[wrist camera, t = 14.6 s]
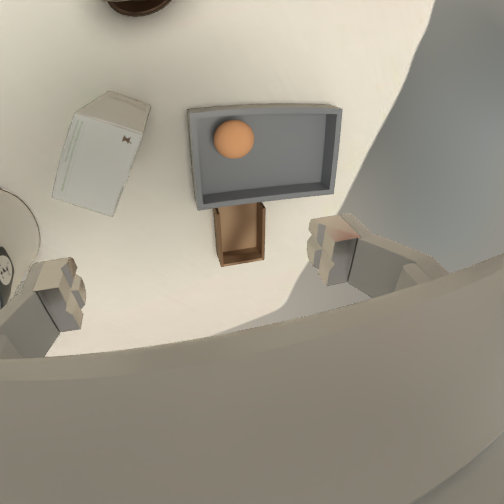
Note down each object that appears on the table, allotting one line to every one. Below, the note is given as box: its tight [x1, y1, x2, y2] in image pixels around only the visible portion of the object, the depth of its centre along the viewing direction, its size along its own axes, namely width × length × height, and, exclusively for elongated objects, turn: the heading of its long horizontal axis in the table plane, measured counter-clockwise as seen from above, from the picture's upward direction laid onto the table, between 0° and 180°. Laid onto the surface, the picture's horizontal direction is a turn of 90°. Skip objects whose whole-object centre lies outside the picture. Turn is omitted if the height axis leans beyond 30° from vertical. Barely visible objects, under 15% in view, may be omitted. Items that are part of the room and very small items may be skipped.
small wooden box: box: [213, 202, 265, 267], centre depth 45 cm, size 7×9×4 cm
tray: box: [187, 104, 342, 210], centre depth 39 cm, size 20×13×4 cm, turn 91°
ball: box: [214, 120, 254, 159], centre depth 35 cm, size 5×5×5 cm
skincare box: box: [52, 91, 151, 217], centre depth 27 cm, size 8×7×16 cm
